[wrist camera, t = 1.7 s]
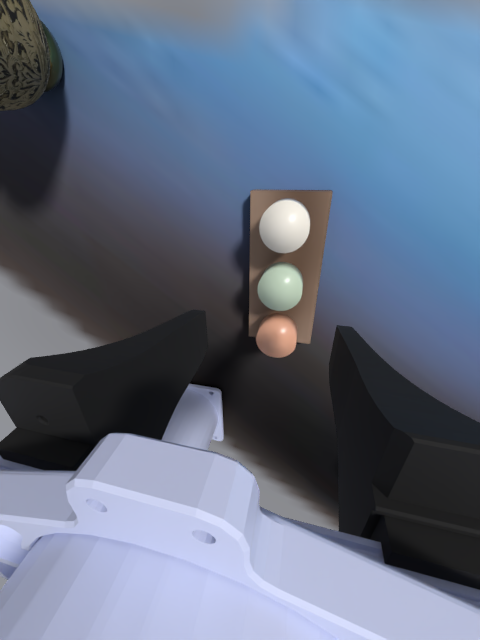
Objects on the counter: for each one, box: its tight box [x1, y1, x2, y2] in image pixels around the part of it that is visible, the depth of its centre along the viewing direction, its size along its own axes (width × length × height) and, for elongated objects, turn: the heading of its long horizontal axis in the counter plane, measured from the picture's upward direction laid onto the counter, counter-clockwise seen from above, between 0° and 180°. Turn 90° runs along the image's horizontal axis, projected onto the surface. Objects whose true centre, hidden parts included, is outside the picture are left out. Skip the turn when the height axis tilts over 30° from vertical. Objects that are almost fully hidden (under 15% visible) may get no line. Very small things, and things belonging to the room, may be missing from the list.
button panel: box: [249, 190, 332, 344], centre depth 20 cm, size 5×11×1 cm, turn 0°
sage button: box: [258, 262, 303, 311], centre depth 18 cm, size 3×3×2 cm
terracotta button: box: [256, 313, 297, 358], centre depth 19 cm, size 3×3×2 cm
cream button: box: [259, 198, 310, 253], centre depth 16 cm, size 3×3×2 cm
